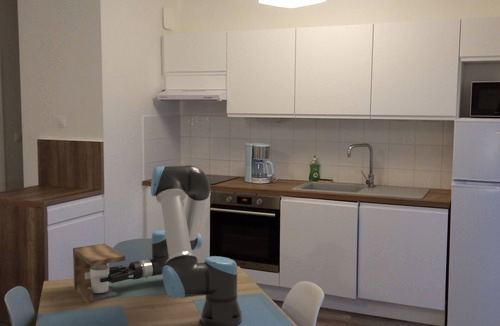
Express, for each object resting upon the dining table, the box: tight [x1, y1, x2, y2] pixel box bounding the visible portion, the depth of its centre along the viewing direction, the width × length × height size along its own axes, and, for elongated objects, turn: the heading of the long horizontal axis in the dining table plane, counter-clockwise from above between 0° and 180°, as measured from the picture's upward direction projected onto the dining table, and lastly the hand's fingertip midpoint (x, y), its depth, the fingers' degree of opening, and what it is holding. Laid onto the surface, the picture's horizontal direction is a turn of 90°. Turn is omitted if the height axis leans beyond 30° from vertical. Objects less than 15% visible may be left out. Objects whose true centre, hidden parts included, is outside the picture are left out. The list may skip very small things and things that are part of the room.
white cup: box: [90, 264, 110, 293], centre depth 231 cm, size 8×8×10 cm
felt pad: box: [89, 287, 119, 301], centre depth 232 cm, size 11×11×1 cm
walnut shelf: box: [72, 243, 126, 304], centre depth 232 cm, size 14×24×18 cm, turn 34°
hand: (88, 278), depth 229 cm, fingers closed on white cup, 8 cm apart
